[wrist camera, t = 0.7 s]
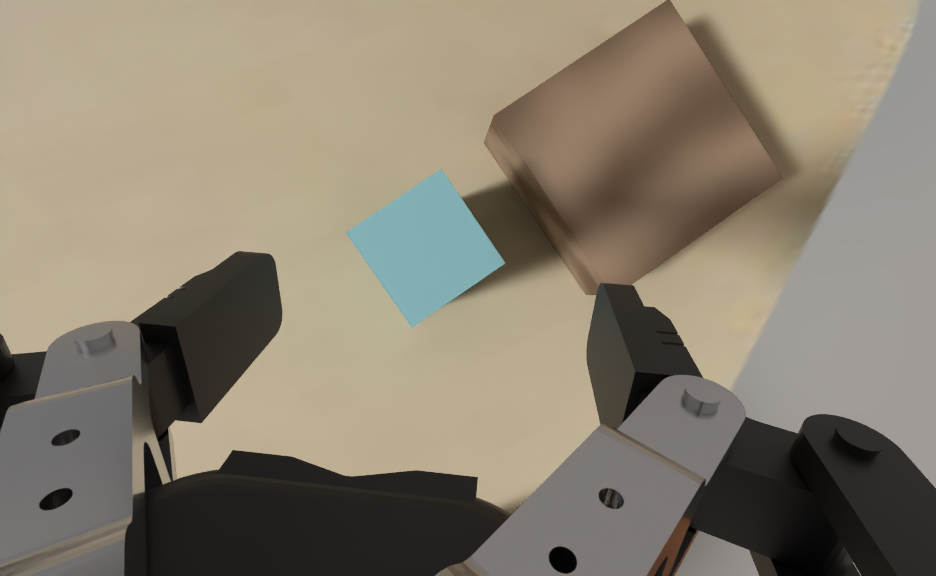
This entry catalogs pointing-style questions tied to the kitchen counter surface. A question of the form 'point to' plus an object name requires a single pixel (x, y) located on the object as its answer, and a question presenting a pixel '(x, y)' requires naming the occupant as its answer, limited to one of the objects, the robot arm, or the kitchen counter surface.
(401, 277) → the teal pillar
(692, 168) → the walnut block
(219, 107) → the kitchen counter surface
